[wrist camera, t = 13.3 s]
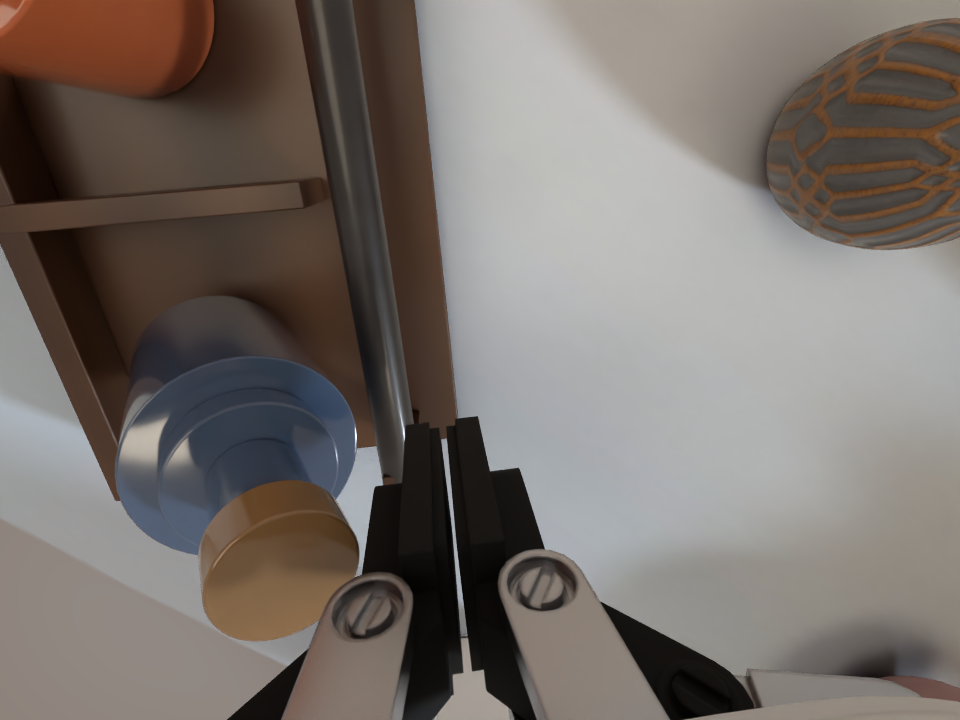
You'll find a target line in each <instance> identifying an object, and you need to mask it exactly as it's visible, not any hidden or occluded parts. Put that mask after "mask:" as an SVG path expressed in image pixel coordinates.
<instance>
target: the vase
mask: <svg viewBox="0 0 960 720" xmlns="http://www.w3.org/2000/svg"><path fill="white" fill-rule="evenodd" d="M767 177H768V182H769V186H770V189H771V192H772V194H773V196H774V198H775V200H776V201H777V203H778V204H779V206H780V207H781V209H782V210H783V211H784V212H785V214H786V215H787V216H788V217H790V218H791V219H792V220H793V221H794V222H795V223H796V224H798V225H799V226H800V227H802V228H803V229H805V230H807V231H808V232H810V233H812V234H814V235H816V236H818V237H820V238H823V239H826V240H828V241H831V242H835V243H838V244H842V245H846V246H850V247H856V248H862V249H871V250H896V249H908V248H917V247H923V246H929V245H934V244H938V243H943V242H946V241H950V240H953V239H956V238H960V18H952V19H940V20H932V21H926V22H921V23H917V24H912V25H908V26H904V27H901V28H898V29H895V30H891V31H888V32H885V33H882V34H880V35H877V36H875V37H872V38H870V39H867V40H865V41H863V42H861V43H859V44H857V45H855V46H853V47H851V48H850V49H848V50H846V51H844V52H843V53H841V54H839V55H838V56H836V57H835V58H833V59H832V60H830V61H829V62H828V63H826V64H825V65H824V66H822V67H821V68H820V69H818V70H817V71H816V72H815V73H813V74H812V75H811V76H810V77H809V78H808V79H807V80H806V81H805V82H804V83H803V84H802V85H801V86H800V87H799V88H798V89H797V90H796V92H795V93H794V94H793V95H792V96H791V98H790V99H789V101H788V102H787V103H786V105H785V106H784V108H783V110H782V111H781V113H780V115H779V117H778V119H777V121H776V123H775V126H774V128H773V131H772V134H771V137H770V141H769V145H768V151H767Z"/></svg>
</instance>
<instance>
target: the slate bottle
mask: <svg viewBox="0 0 960 720" xmlns="http://www.w3.org/2000/svg"><path fill="white" fill-rule="evenodd" d="M356 450H357V431H356V424H355V420H354V417H353V413H352V411H351V409H350V407H349V405H348V403H347V401H346V400H345V398H344V396H343V395H342V393H341V392H340V391H339V390H338V389H337V387H336V386H335V385H334V384H333V383H332V381H331V380H330V379H329V378H328V377H327V375H326V374H325V373H324V372H323V371H322V369H321V368H320V367H319V366H318V365H317V363H316V362H315V361H314V360H313V359H312V357H311V356H310V355H309V354H308V353H307V351H306V350H305V349H304V348H303V347H302V345H301V344H300V343H299V342H298V341H297V340H296V338H295V337H294V336H293V335H292V334H291V332H290V331H289V330H288V329H287V328H286V326H285V325H284V324H283V323H282V322H281V321H280V320H279V319H278V318H277V317H276V316H275V315H274V314H273V313H271V312H270V311H268V310H267V309H265V308H264V307H262V306H260V305H258V304H256V303H253V302H250V301H248V300H245V299H241V298H236V297H230V296H206V297H199V298H194V299H190V300H187V301H184V302H182V303H179V304H177V305H175V306H173V307H171V308H169V309H167V310H166V311H164V312H163V313H161V314H160V315H159V316H157V317H156V318H155V319H154V320H153V321H152V322H151V323H150V324H149V325H148V326H147V327H146V329H145V330H144V331H143V333H142V334H141V336H140V338H139V339H138V341H137V343H136V346H135V348H134V351H133V355H132V360H131V366H130V372H129V379H128V385H127V391H126V398H125V404H124V410H123V416H122V423H121V429H120V435H119V442H118V448H117V454H116V461H115V480H116V487H117V491H118V494H119V497H120V500H121V503H122V505H123V507H124V508H125V510H126V512H127V514H128V515H129V517H130V518H131V519H132V520H133V522H134V523H135V524H136V525H137V526H138V527H139V528H140V529H141V530H142V531H143V532H145V533H146V534H147V535H148V536H150V537H151V538H153V539H154V540H156V541H158V542H159V543H161V544H163V545H165V546H168V547H170V548H172V549H175V550H178V551H182V552H185V553H189V554H195V555H198V560H199V571H200V581H201V591H202V601H203V607H204V610H205V613H206V615H207V617H208V619H209V620H210V621H211V623H212V624H213V625H214V626H215V627H216V628H217V629H219V630H220V631H221V632H223V633H224V634H226V635H228V636H230V637H233V638H236V639H240V640H245V641H267V640H274V639H278V638H282V637H285V636H288V635H291V634H294V633H296V632H298V631H301V630H303V629H305V628H307V627H308V626H310V625H312V624H314V623H315V622H317V621H318V620H319V619H320V618H321V615H322V613H323V610H324V608H325V606H326V604H327V602H328V600H329V599H330V597H331V596H332V595H333V594H334V592H335V591H336V590H337V589H338V588H339V587H340V586H342V585H343V584H345V583H346V582H348V581H349V580H351V579H352V578H355V575H356V572H357V569H358V564H359V544H358V541H357V537H356V535H355V533H354V532H353V530H352V528H351V526H350V524H349V522H348V520H347V519H346V517H345V515H344V513H343V511H342V509H341V508H340V506H339V504H338V502H337V501H336V499H337V497H338V496H339V494H340V493H341V491H342V490H343V488H344V486H345V484H346V483H347V481H348V478H349V476H350V474H351V471H352V468H353V465H354V461H355V456H356Z"/></svg>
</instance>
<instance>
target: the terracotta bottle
mask: <svg viewBox="0 0 960 720" xmlns="http://www.w3.org/2000/svg"><path fill="white" fill-rule="evenodd" d="M213 32H214V7H213V0H0V74H4V75H9V76H14V77H20V78H25V79H30V80H35V81H40V82H46V83H51V84H56V85H61V86H67V87H72V88H77V89H82V90H87V91H93V92H98V93H103V94H108V95H113V96H119V97H124V98H132V99H151V98H158V97H161V96H165V95H168V94H171V93H173V92H175V91H177V90H179V89H180V88H182V87H183V86H184V85H186V84H187V83H188V82H189V81H190V80H191V79H192V78H193V77H194V76H195V75H196V74H197V73H198V71H199V70H200V68H201V67H202V65H203V63H204V61H205V59H206V58H207V55H208V52H209V49H210V46H211V43H212V37H213Z"/></svg>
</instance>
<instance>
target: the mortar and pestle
mask: <svg viewBox="0 0 960 720" xmlns="http://www.w3.org/2000/svg"><path fill="white" fill-rule="evenodd" d="M878 679H882V680H887V681H891V682H895V683H897V684H899V685H901V686H904V687H906V688H908V689H910V690H912V691H914V692H916V693H917V694H919V695H920V696H921V697H923V698H933V699H941V700H950V701H957V702H960V688H958V687H955V686H952V685H949V684H946V683H943V682H940V681H936V680H932V679H927V678H921V677H914V676H888V677H882V678H878Z"/></svg>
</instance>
